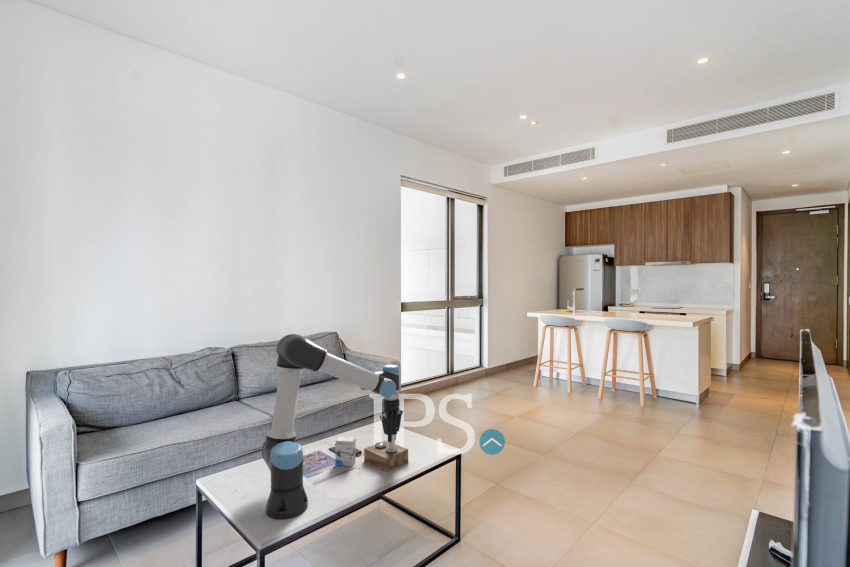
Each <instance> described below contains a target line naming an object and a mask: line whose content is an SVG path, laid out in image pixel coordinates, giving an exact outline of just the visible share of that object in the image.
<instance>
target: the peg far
mask: <svg viewBox="0 0 850 567" xmlns="http://www.w3.org/2000/svg"><path fill="white" fill-rule="evenodd" d="M374 445H375V447H376V448H378V449H382V448H385V447H386V443H385V442H383V441H379V442H376V443H375V444H374Z"/></svg>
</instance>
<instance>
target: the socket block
mask: <svg viewBox="0 0 850 567" xmlns="http://www.w3.org/2000/svg"><path fill="white" fill-rule="evenodd" d="M382 442H385V443H386V447H385V448H382V449H378V448H376V447H375V444H373V445H370V446H368V447H365V448H364V449H363V454H364V455H363V461H364V462H365V463H367V464H370V465H371V466H374V467H375V468H378V469H380V470H383V471H385V472H389V471H390V470H393V469H394V468H397V467H399V465H400V466H402V465H405V464H406V463H409V448H406V447H404V446H401V445H399V444H396V443H395V447H397V452H396V453H393V454H390V453H387V452H386V448H387V447H389V442H388V439H387V440H384V441H382ZM401 464H402V465H401Z"/></svg>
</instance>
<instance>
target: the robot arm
mask: <svg viewBox="0 0 850 567" xmlns="http://www.w3.org/2000/svg"><path fill="white" fill-rule="evenodd" d="M276 353H277V360H276V367H277V369H278V370H279V374H278V381H277V387H276V394H275V395H276V396H275V401H274V407H273V408H274V409H273V416H272V422H271V428H270V429H269V430H268V431H267V432H266V437H265V440H264V441H263V443H262V444H261V445H262V446H261V457H262V459H263V461H264V462H265V463H266V466H267V468H268V470H269V471H270V492H269V495H268V498H267V502H266V505H265V513H266V515H267V517H269V518H271V519H275V520H285V519H287V520H288V519H291V518H295V517H297V516H299V515H300V514H301V515H302V513H304V512H305V511H306V509H308V506H309V505H308V504H309V503H308V502H309V500H308V496H307V493H306V489H305V487H304V452H303V448H302V445H301V444H300V443H298V442H296V438H297V432H295V431H294V426H295V425H294V424H295V418H296V412H297V406H298V405H297V404H298V398H299V397H298V396H299V391H300V384H301V383H300V382H301V378H302V377H301V376H302V372H303V371H305V370H309V371H312V372H314V373H317V372H322V373H324V374H327V375H330V376H331V377H334V378H338V379H339V380H342V381H345V382H347V383H349V384H353V385H355V386H357V387H358V388H359V389H360V390H361V391H371V392H373V393H375V394H377V395H380V396H381V397H382V398H383V401H382V402H383V408H384V410H383V413H382V414H379V419H380V422H381V424H382V429H383V434H384V435H386V436H387V441H388V442H389V448H391V449H395V444H396V441H397V440H396V439H397V435H398V432H400V427H401V422H402V417H403V413H404V410H402V409H400V367H399V366H398V365H396V364H386V365H384V366H383V368H382V370H378V371H371V370H370V369H369V370H368V369H366V368H364V367H361V366H359V365H357V364H354V363H352V362H350V361H347V360H345V359H342V358H341V357H339V356H335V355H333V354H330V353H328V351H327V349H326V348H323V347H321V346H319V345H317V344H316V343H314V342H313V341H311V340H310V339H308V338H306V337H304V336H302V335H300V334H296V333H290V334H286V335H284V336H283V337H281V338H280V339H279V340H278V342H277V344H276Z"/></svg>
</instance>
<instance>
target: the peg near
mask: <svg viewBox="0 0 850 567" xmlns="http://www.w3.org/2000/svg"><path fill="white" fill-rule="evenodd" d="M386 452H387V453H390V454H393V453H396V452H397V447H395V449H391V448H389V447H387V448H386Z"/></svg>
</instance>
